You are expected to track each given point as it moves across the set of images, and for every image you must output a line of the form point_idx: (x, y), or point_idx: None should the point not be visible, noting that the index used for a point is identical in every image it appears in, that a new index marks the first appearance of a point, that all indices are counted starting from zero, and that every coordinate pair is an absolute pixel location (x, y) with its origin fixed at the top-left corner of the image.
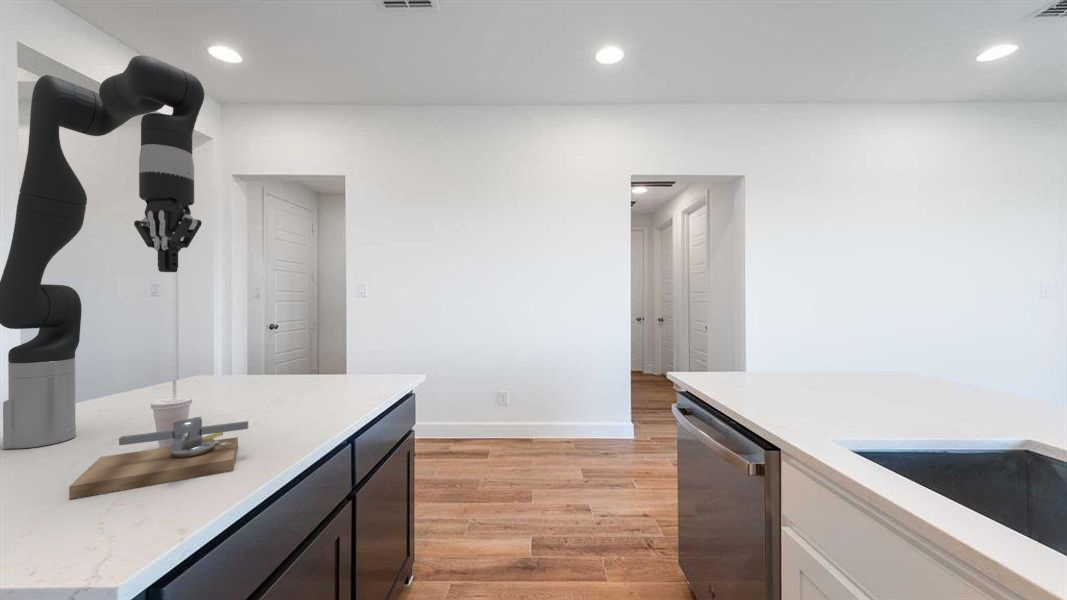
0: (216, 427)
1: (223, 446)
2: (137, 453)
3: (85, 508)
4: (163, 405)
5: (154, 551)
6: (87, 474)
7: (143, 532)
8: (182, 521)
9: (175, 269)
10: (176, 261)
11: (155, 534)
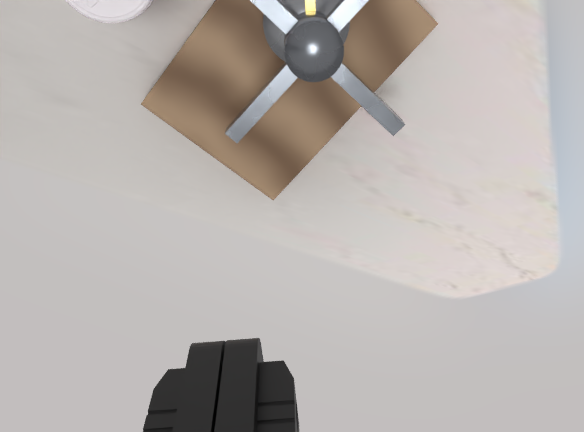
0: (362, 5)
1: None
2: (189, 66)
3: (333, 197)
4: (139, 12)
5: (545, 231)
6: (238, 165)
7: (489, 211)
8: (515, 180)
9: (258, 357)
10: (295, 422)
11: (510, 210)
